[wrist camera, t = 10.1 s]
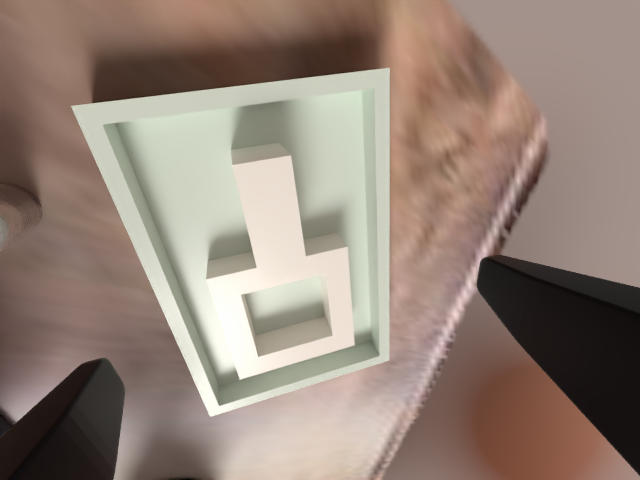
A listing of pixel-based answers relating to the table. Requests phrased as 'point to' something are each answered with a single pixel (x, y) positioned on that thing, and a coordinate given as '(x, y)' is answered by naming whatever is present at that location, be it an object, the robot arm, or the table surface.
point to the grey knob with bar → (16, 213)
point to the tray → (228, 217)
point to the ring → (278, 269)
